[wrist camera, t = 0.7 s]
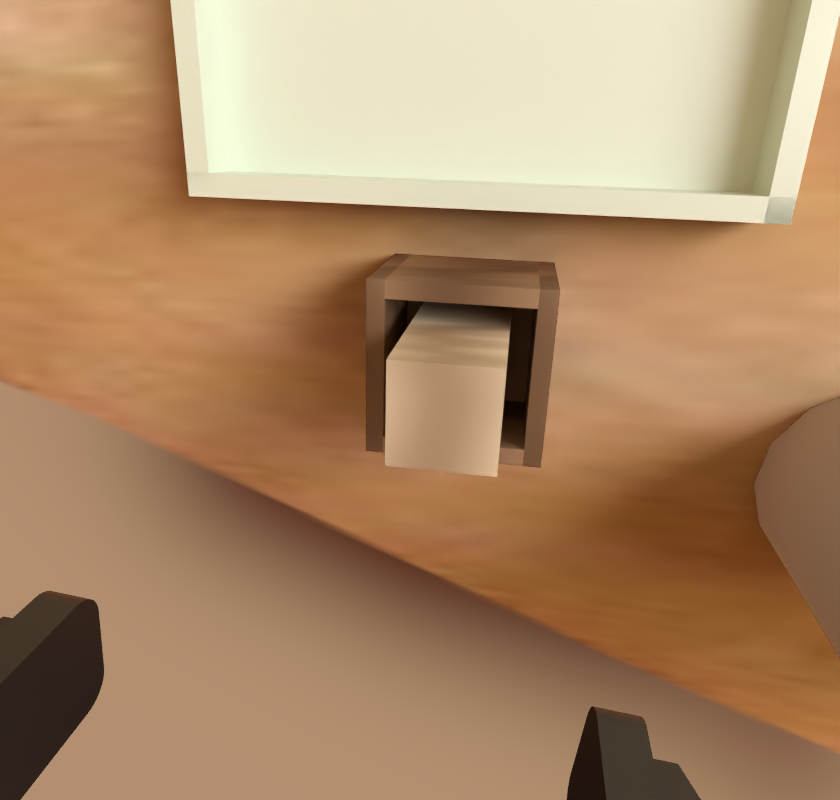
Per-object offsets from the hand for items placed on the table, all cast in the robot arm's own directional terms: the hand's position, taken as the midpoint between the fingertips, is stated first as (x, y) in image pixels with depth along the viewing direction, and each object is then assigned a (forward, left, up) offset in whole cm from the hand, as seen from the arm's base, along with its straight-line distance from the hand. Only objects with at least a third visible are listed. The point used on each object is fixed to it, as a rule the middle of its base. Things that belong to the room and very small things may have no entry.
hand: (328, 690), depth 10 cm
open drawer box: (-1, -1, -17) cm, 17 cm away
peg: (-1, -1, -17) cm, 17 cm away
